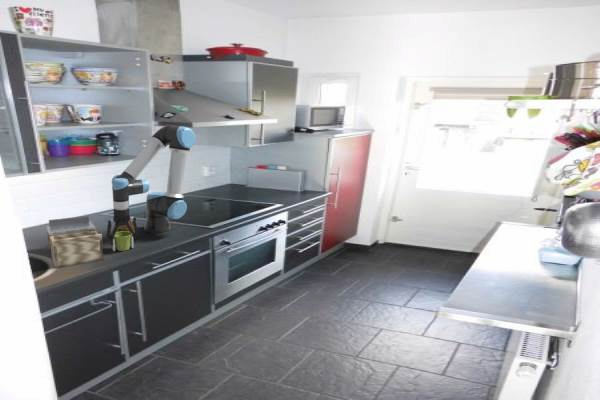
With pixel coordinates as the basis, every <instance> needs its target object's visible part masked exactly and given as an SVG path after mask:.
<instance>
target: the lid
mask: <svg viewBox="0 0 600 400" xmlns="http://www.w3.org/2000/svg"><path fill="white" fill-rule="evenodd" d="M89 218H90V217H89V215H83V216H73V217H64V218H58V219H56V218H55V219H48V225H46V231H47V230H48V232H49V235H53V236H57V235H65V234H73V233H81V232H88V231H89V230H96V229H97V227H96V226H95V224H93V222H92V221H91V220H90V219H89Z"/></svg>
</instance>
